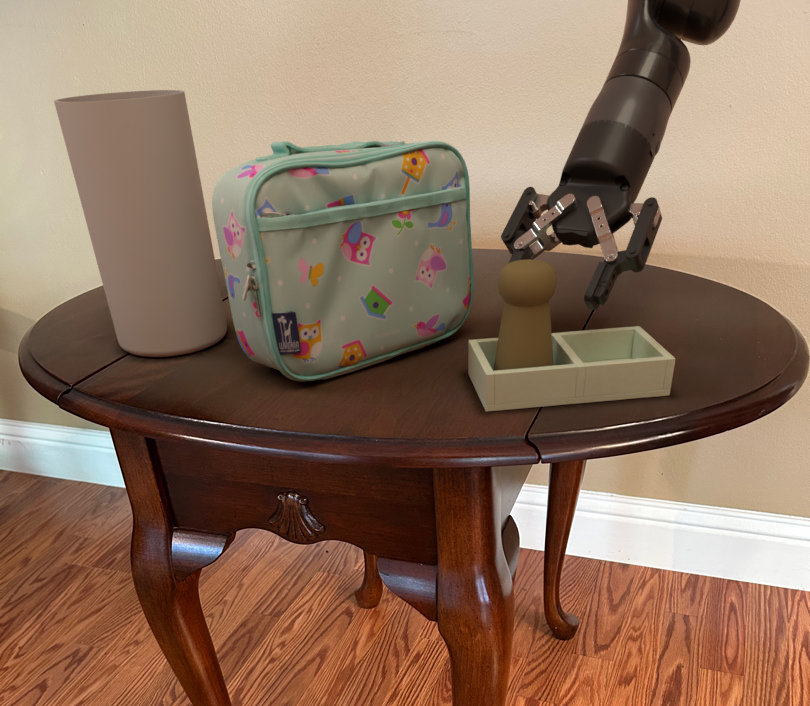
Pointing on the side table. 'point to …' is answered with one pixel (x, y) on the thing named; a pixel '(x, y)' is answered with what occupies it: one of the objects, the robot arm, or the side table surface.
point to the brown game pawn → (525, 315)
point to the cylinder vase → (146, 218)
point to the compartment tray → (575, 370)
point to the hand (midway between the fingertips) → (548, 298)
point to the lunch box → (345, 253)
